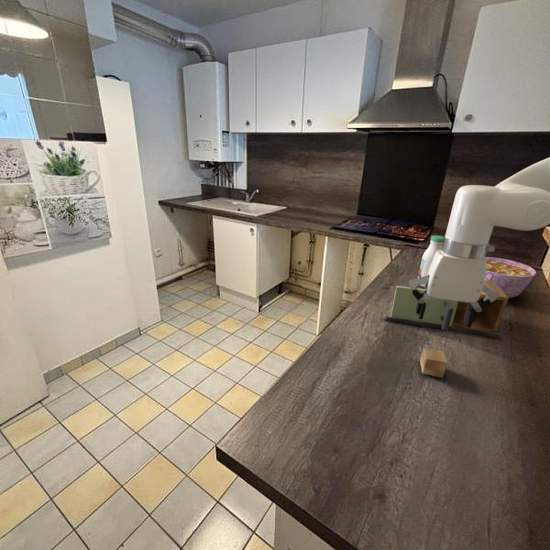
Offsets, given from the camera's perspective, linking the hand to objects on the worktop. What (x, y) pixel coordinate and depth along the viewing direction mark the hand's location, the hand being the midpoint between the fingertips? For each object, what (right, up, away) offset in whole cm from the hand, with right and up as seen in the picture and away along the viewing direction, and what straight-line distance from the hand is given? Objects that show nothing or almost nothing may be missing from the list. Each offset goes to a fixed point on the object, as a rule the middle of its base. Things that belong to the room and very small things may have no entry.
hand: (442, 320), depth 66 cm
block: (0, -13, +5) cm, 14 cm away
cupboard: (+14, -3, +28) cm, 32 cm away
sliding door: (+6, -6, +22) cm, 24 cm away
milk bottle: (+24, +6, +52) cm, 57 cm away
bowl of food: (+44, +3, +44) cm, 62 cm away
